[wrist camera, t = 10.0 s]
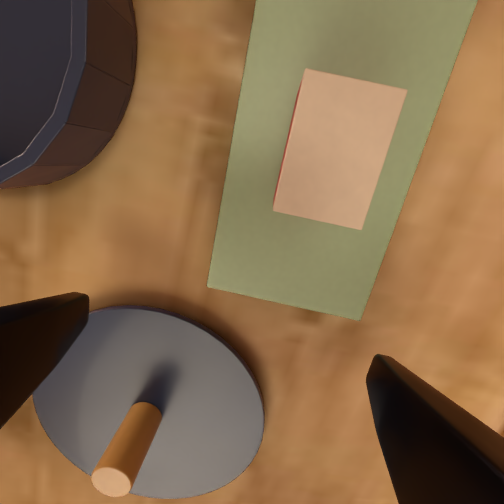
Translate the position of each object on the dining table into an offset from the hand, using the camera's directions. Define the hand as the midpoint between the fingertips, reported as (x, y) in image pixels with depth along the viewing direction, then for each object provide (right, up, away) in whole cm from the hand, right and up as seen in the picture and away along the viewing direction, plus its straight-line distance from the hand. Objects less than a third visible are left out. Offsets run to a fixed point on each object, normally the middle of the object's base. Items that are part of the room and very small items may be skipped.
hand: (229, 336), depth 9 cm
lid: (-8, -10, +14) cm, 19 cm away
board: (+5, +8, +8) cm, 12 cm away
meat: (+4, +8, +7) cm, 11 cm away
